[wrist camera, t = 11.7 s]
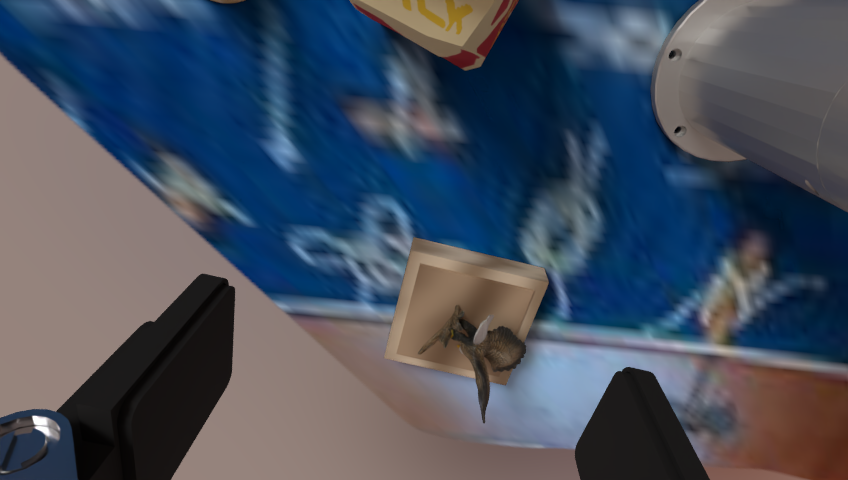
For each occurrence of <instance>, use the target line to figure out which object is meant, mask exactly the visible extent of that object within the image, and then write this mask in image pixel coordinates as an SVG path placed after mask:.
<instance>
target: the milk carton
mask: <svg viewBox="0 0 848 480" xmlns="http://www.w3.org/2000/svg"><path fill="white" fill-rule="evenodd" d="M518 1H519V0H350V2H351V3H352V4H353V6H354V7H355V8H356V9H357V10H359V11H360V12H362V13H363V14H365V15H366V16H367V17H369V18H371V19H373V20H374V21H376V22H378V23H380V24H382V25H384V26H386V27H388V28H389V29H391V30H393V31H395V32H397V33H399V34H401V35H402V36H404V37H406V38H408V39H409V40H411V41H413V42H414V43H416V44H418V45H420V46H421V47H423V48H425V49H427V50H428V51H430V52H432V53H433V54H435V55H437V56H439V57H443V58H444V59H446V60H448V61H449V62H451V63H453V64H455V65H456V66H458V67H460V68H461V69H463V70H465V71H466V70H470V69H474V68H477V67H481V65H482V63H483V61H484V60H485V58H486V56H487V54H488V53H489V51H490V49H491V47H492V46H493V44H494V42H495V40H496V39H497V37H498V35H499V33H500V32H501V30H502V28H503V27H504V25H505V23H506V21H507V20H508V18H509V16H510V14H511V13H512V11H513V9H514V8H515V6H516V4H517V3H518Z"/></svg>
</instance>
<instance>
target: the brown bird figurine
mask: <svg viewBox="0 0 848 480" xmlns="http://www.w3.org/2000/svg"><path fill="white" fill-rule="evenodd" d="M464 312H465V311H460V309H459V305H456V306H455V310H454V313H453V315H452V316H451V318H450V319H449V320H448V321H447V322H446V324H445V325H444V326H443V327H442V328H441V329H440V330H439V331H438V332H437V333H436V334H435V335H434V336H433V337H432V338H431V339H430V340H428V341H427V342H426V343H425V344H424V345H423V346H422V348H421V349H420V350H419V352H418V354H419V355H421V354H422V353H423V352H425V351H426V350H428V349H429V348H430V347H431V346H433V345H434V344H435V343H436V342H437V341H438V340H439V341H440V343H441V344H442V345H443V347H444V348H446V347H447V345H448V343H449V341H450V338H451V339H453V340H455V341H458V342H459V343H460V344H461V345H457V347H458V348H459V350H460V352H461V353H462V354H464V355H465V356H466V357H467V358H468V359H469V360H470V362H471V364H472V366H473V369H474V372H475V378H476V384H477V388H478V399H479V404H480V408H481V414H482V420H483V423H485V411H486V407H487V404H488V400H489V393H490V383H489V382H490V381H489V376H488V371H487V367H486V364H485V361H484V357H485V358H486V359H487V360H488V361H489V362H490V364H491V367H492V370H493V372H497V371H499V372H503V371H504V370H506V371H510V370H511V369H515V368H516V365H517V364H520V363H521V358H523V357H524V354H525V353H526V345H525V343H524V342H523V343H522V341H521V340H520V339H518V338H517V337H516V335H513V332H512V331H511V329H509V328H507V327H504V326H499V327H498V328H497V329H493V331H490V330H489V331H488V327H489V324H490V322H491V321H492V319H493V317H494V315H489V316H488V317H487V319H486V320H484V321H483V322H482V323H481V324H480V326H479V328H478V329H476V327H475V326H474V325H472V324H471V323H469V322H468V321H466V320H465V319H461V318H462V317H463V316H464ZM463 329H464V330H465V331H466V333H467V335H468V337H467V336H466V335H465V334H463V333H462V332H459V331H461V330H463ZM457 330H458V331H457Z"/></svg>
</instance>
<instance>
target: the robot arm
mask: <svg viewBox="0 0 848 480" xmlns="http://www.w3.org/2000/svg"><path fill="white" fill-rule="evenodd" d="M671 51H673V56H672V57H671V58H669V53H670V52H671ZM651 101H652V108H653V111H654V114H655V118H656V121H657V123H658V124H659V126H660V128H661V129H662V131H663V133H664V134H665V135H666V136H667V137H668V138H669V139H670V140H671V141H672V142H673V143H674V144H675V145H677V146H678V147H679V148H681V149H682V150H684V151H686V152H688V153H690V154H692V155H694V156H696V157H698V158H702V159H706V160H710V161H721V162H732V161H740V160H746V159H748V160H750V161H752V162H754V163H756V164H758V165H760V166H762V167H763V168H765V169H767V170H769V171H771V172H773V173H775V174H777V175H778V176H780V177H782V178H784V179H786V180H788V181H790V182H792V183H793V184H795V185H797V186H799V187H801V188H803V189H805V190H807V191H809V192H810V193H812V194H814V195H816V196H818V197H820V198H822V199H824V200H825V201H827V202H829V203H831V204H833V205H835V206H837V207H839V208H841V209H842V210H844V211H846V212H848V0H699V1H698V2H696V3H695V4H694V5H693V6H692V7H691V8H690V9H689V10H688V11H687V12H686V13H685V14H684V15H683V16H682V17H681V18H680V19H679V20H678V22H677V23H676V24H675V26H674V27H673V29H672V30H671V32H670V33H669V35H668V36H667V37H666V39H665V41H664V43H663V45H662V48H661V50H660V52H659V54H658V56H657V59H656V63H655V66H654V70H653V73H652V82H651ZM677 127H679V128H678V130H677V131H676V132H674V131H675V129H676V128H677ZM234 307H235V288H234V287H233V286H229V284H228V280H227V279H225V278H221V277H216V276H211V275H207V274H201V275H199V276H198V277H197V278H196V279H195V280H194V281H193V282H192V283H191V284H190V285H189V286H188V287H187V288H186V289H185V291H184V292H183V293H182V294H181V295H180V296H179V297H178V298H177V299H176V300H175V301H174V302H173V303H172V304H171V305H170V306H169V307H168V308H167V309H166V310H165V311H164V312H163V313H162V315H161V316H160V317H159V318H158V319H157V320H156V321H155V322H152V321H149V322H146V323H144V324H143V325H142V326H140V327H139V328H138V329H137V330H136V331H135V332H134V333H133V334H132V335H131V336H130V337H129V338H128V339H127V340H126V342H124V343H123V344H122V345H121V346H120V347H119V348H118V349H117V350H116V351H115V352H114V354H113V355H111V356H110V357H109V358H108V360H106V362H105V363H104V364H103V365H102V366H101V367H100V368H99V369H98V370H97V371H96V372H95V373H94V374H93V375H92V376H91V377H90V378H89V379H88V380H87V381H86V382H85V383H84V384H83V385H82V386H81V387H80V388H79V389H78V390H77V391H76V392H75V393H74V394H73V395H72V396H71V397H70V398H69V399H68V400H67V401H66V402H65V403H64V404H63V405H62V406H61V407H60V408H59V409H58V410H57V411H56V412H55V411H51V410H47V409H32V410H26V411H20V412H16V413H13V414H10V415H7V416H4V417H1V418H0V480H171V478H172V477H173V475H174V473H175V472H176V470H177V468H178V467H179V465H180V463H181V461H182V460H183V458H184V457H185V455H186V453H187V452H188V450H189V448H190V447H191V445H192V443H193V441H194V440H195V439H196V437H197V435H198V433H199V432H200V430H201V429H202V427H203V425H204V424H205V422H206V420H207V419H208V417H209V415H210V414H211V412H212V410H213V409H214V407H215V405H216V404H217V402H218V400H219V399H220V397H221V396H222V394H223V392H224V391H225V389H226V387H227V385H228V383H229V380H230V377H231V373H232V357H233V332H234ZM575 460H576V464H577V468H578V472H579V476H580V479H581V480H710V479H709V477H708V475H707V473H706V471H705V470H704V468H703V466H702V464H701V462H700V460H699V458H698V456H697V454H696V453H695V451H694V449H693V447H692V445H691V443H690V441H689V439H688V437H687V436H686V434H685V432H684V430H683V428H682V426H681V424H680V422H679V420H678V419H677V417H676V415H675V413H674V411H673V409H672V407H671V405H670V403H669V402H668V400H667V398H666V396H665V394H664V392H663V390H662V388H661V387H660V385H659V383H658V381H657V379H656V377H655V376H654V374H653V373H651V372H649V371H645V370H640V369H635V368H631V367H626V368H624V369H623V370H622V372H621V371H618V372H616V373H615V375H614V376H613V378H612V380H611V382H610V384H609V385H608V387H607V389H606V391H605V393H604V395H603V396H602V398H601V400H600V402H599V404H598V406H597V408H596V409H595V411H594V413H593V415H592V417H591V419H590V421H589V422H588V424H587V426H586V428H585V430H584V432H583V433H582V435H581V437H580V439H579V441H578V443H577V445H576V449H575Z"/></svg>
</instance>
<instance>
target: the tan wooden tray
mask: <svg viewBox="0 0 848 480" xmlns="http://www.w3.org/2000/svg"><path fill="white" fill-rule="evenodd" d="M548 284H549V282H548V279H547V275H546V272H545V269H544V268H542V267H537V266H533V265H529V264H525V263H520V262H516V261H512V260H508V259H503V258H499V257H495V256H491V255H487V254H482V253H478V252H474V251H470V250H465V249H461V248H457V247H453V246H449V245H444V244H440V243H436V242H432V241H427V240H423V239H419V238H415V237H414V238H413V242H412V246H411V250H410V254H409V258H408V262H407V266H406V270H405V274H404V278H403V282H402V286H401V290H400V294H399V298H398V302H397V306H396V310H395V314H394V318H393V322H392V326H391V330H390V334H389V338H388V342H387V347H386V352H385V357H384V358H386V359H390V360H395V361H399V362H404V363H408V364H412V365H417V366H421V367H426V368H430V369H435V370H439V371H444V372H448V373H453V374H457V375H462V376H466V377H471V378H475V372H474V369H473V366H472V364H471V362H470V360H469V359H468V358H467V357H466V356H465V355H464V354H462V353H461V352H460V350H459V348H458V347H457V345H461V344H460V343H459V342H458V341H455V340H453V339H451V338H450V341H449V343H448V345H447V347H446V348H444V347H443V345H442V344H441V343H440V341H439V340H438V341H437V342H436V343H435V344H434V345H433V346H431V347H430V348H429V349H428V350H426V351H425V352H423V353H422V354H421V355H419V354H418V352H419V350H420V349H421V348H422V346H423V345H424V344H425V343H426V342H427V341H428V340H430V339H431V338H432V337H433V336H434V335H435V334H436V333H437V332H438V331H439V330H440V329H441V328H442V327H443V326H444V325H445V324H446V322H447V321H448V320H449V319H450V318H451V316H452V315H453V313H454V310H455V306H456V305H459V309H460V311H465V312H464V316H463V317H462V318H461V319H465V320H466V321H468V322H469V323H471V324H472V325H474V326H475V327H476V329H478V328H479V326H480V324H481V323H482V322H483V321H484V320H486V319H487V317H488V316H489V315H494V317H493V319H492V321H491V322H490V324H489V327H488V331H489V330H490V331H493V329H497V328H498V327H499V326H504V327H507V328H509V329H511V331H512V332H513V335H516V337H517V338H518V339H520V340H521V341H522V343H523V342H524V341H525V339H526V336H527V334H528V331H529V329H530V327H531V324H532V322H533V320H534V317H535V315H536V312H537V310H538V308H539V305H540V303H541V301H542V298H543V296H544V293H545V291H546V289H547V286H548ZM457 331H458V330H457ZM459 332H462V333H463V334H465V335H466V336H467V337H468V335H467V333H466V331H465V330H464V329H463V330H461V331H459ZM484 361H485V364H486V367H487V371H488V376H489V381H490V382H493V383H497V384H502V385H506V384H507V381H508V379H509V377H510V374H511V372H512V370H513V369H511V370H510V371H506V370H504V371H503V372H499V371H497V372H493V370H492V367H491V364H490V362H489V361H488V360H487V359H486V358H485V357H484ZM475 379H476V378H475Z"/></svg>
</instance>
